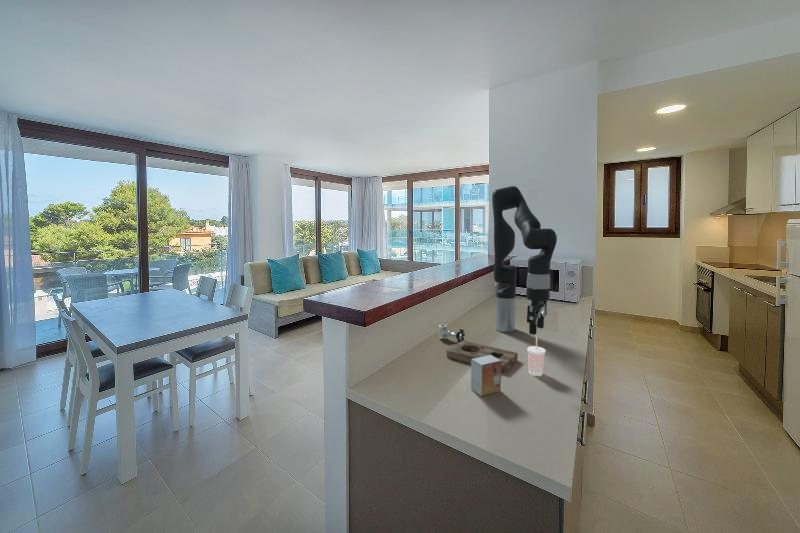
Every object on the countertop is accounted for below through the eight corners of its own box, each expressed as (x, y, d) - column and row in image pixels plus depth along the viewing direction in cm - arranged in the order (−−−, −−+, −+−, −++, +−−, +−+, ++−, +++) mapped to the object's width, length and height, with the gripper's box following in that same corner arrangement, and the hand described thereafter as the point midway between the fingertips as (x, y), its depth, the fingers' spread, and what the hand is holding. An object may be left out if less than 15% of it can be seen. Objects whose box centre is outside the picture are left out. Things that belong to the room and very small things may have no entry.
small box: (481, 397, 100) (481, 365, 99) (470, 388, 105) (470, 358, 104) (501, 391, 103) (501, 360, 102) (489, 383, 108) (490, 354, 107)
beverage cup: (527, 368, 119) (528, 332, 118) (545, 371, 116) (546, 334, 115) (525, 374, 114) (526, 337, 112) (544, 378, 111) (545, 339, 109)
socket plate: (463, 346, 142) (463, 340, 141) (517, 360, 126) (517, 353, 126) (446, 356, 131) (446, 349, 130) (503, 373, 116) (503, 365, 115)
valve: (435, 340, 151) (458, 345, 143) (435, 326, 150) (458, 331, 142) (442, 336, 156) (464, 341, 148) (442, 323, 155) (465, 327, 148)
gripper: (533, 282, 119) (532, 324, 121) (520, 288, 108) (518, 334, 110) (555, 284, 114) (553, 327, 116) (543, 290, 103) (541, 338, 105)
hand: (536, 330), depth 113 cm, fingers open, 8 cm apart
